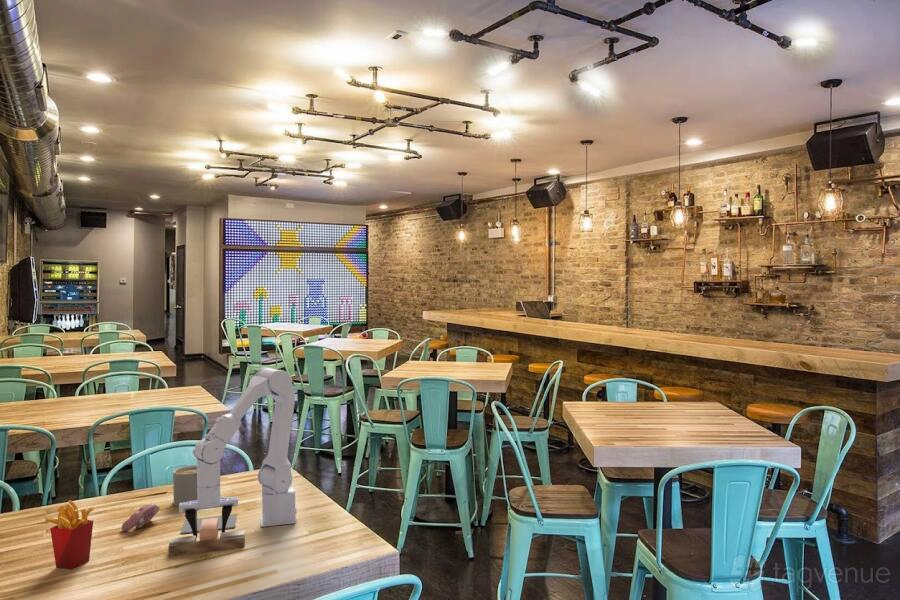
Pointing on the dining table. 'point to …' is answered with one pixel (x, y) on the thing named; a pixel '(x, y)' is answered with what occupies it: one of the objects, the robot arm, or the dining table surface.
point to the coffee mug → (185, 484)
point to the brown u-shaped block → (206, 543)
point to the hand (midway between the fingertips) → (209, 535)
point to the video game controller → (141, 517)
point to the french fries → (71, 536)
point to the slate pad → (229, 525)
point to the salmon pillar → (209, 529)
